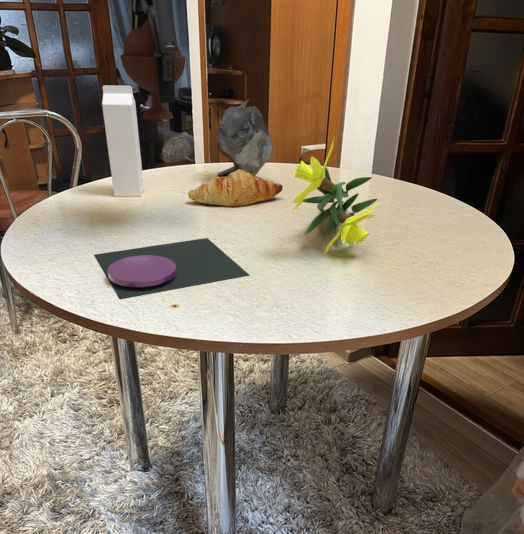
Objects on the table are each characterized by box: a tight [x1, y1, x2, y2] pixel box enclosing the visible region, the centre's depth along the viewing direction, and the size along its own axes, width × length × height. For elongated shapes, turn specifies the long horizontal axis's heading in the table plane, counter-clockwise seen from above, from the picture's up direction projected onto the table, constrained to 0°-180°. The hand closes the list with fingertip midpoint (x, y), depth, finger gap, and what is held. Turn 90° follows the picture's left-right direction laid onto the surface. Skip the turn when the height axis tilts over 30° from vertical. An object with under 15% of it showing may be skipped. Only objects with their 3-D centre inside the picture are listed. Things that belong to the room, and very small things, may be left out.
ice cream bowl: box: [119, 18, 187, 121], centre depth 86 cm, size 11×11×15 cm
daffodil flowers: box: [289, 135, 383, 257], centre depth 91 cm, size 17×15×35 cm
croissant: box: [187, 169, 283, 207], centre depth 112 cm, size 21×10×8 cm, turn 106°
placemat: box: [93, 237, 251, 300], centre depth 81 cm, size 18×20×1 cm
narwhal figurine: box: [216, 98, 275, 177], centre depth 124 cm, size 14×15×18 cm
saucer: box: [108, 255, 177, 287], centre depth 76 cm, size 10×10×2 cm
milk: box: [101, 84, 145, 198], centre depth 111 cm, size 6×6×22 cm
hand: (156, 99), depth 89 cm, fingers closed on ice cream bowl, 11 cm apart
